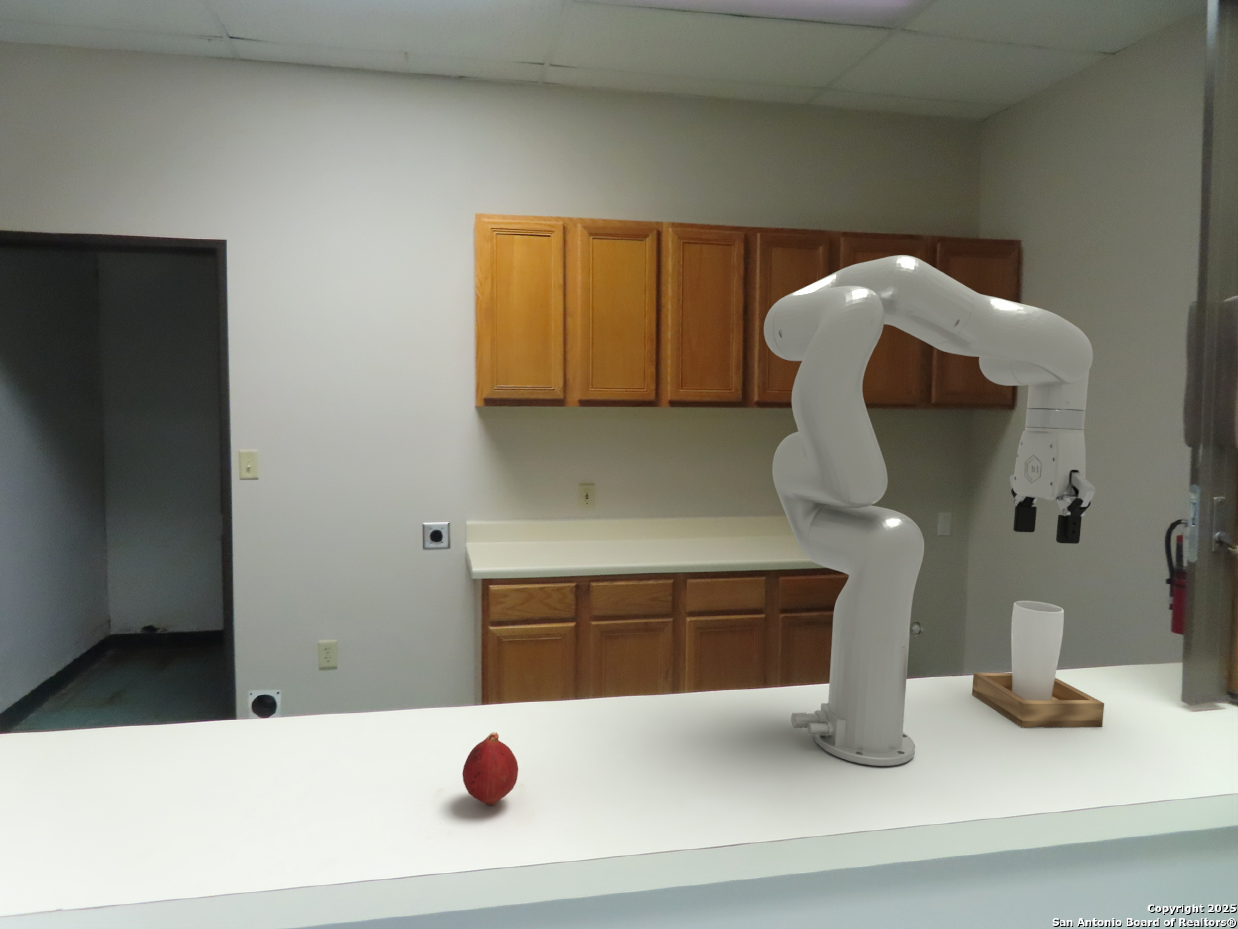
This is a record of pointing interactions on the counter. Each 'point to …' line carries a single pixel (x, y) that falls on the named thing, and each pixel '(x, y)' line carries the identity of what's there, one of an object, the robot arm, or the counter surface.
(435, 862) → the counter surface
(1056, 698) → the tray
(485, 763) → the onion
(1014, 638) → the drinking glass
